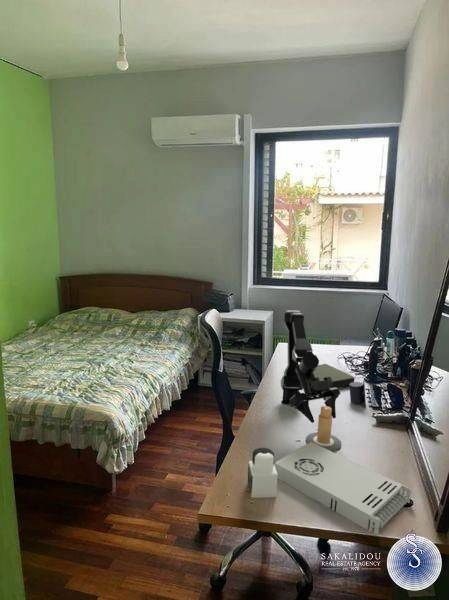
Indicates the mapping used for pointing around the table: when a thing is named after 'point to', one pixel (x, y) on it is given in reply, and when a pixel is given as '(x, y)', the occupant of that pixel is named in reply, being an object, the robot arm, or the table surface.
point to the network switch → (333, 376)
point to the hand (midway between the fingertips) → (324, 420)
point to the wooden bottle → (324, 425)
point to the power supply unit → (343, 485)
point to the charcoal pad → (331, 446)
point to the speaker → (357, 393)
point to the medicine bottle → (262, 474)
